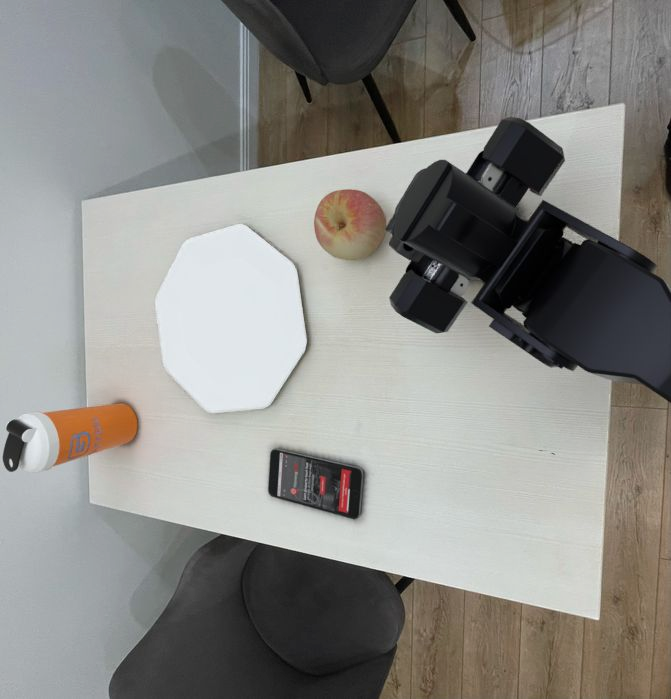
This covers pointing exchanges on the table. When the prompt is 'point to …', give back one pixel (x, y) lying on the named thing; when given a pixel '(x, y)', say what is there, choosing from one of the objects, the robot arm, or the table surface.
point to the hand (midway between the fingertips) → (439, 211)
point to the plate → (231, 320)
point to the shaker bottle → (66, 435)
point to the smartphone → (316, 483)
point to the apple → (349, 224)
